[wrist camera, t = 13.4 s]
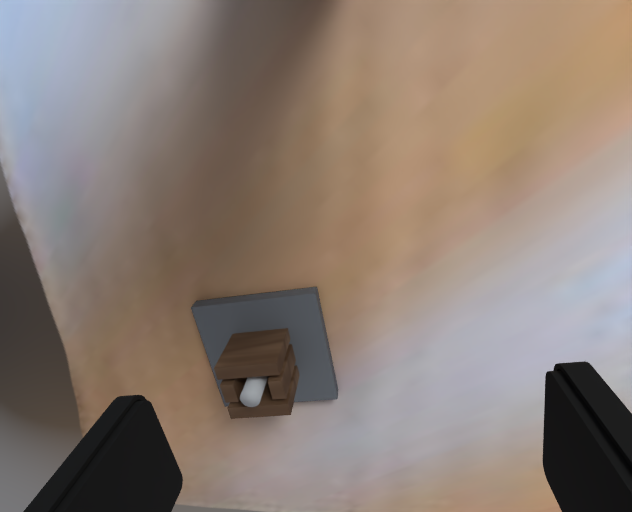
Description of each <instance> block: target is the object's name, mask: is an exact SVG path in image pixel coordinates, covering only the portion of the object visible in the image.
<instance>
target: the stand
mask: <svg viewBox="0 0 632 512" xmlns="http://www.w3.org/2000/svg"><path fill="white" fill-rule="evenodd" d="M191 309H192V312H193V315H194V318H195V321H196V324H197V327H198V330H199V333H200V336H201V338H202V341H203V344H204V347H205V350H206V353H207V356H208V359H209V362H210V365H211V368H212V370H213V373H214V376H215V379H216V382H217V385H218V388H219V391H220V394H221V397H222V400H223V402H224V405H225V407H226V406H229V403H226V402H225V400H224V397H223V394H222V391H221V388H220V384H221V382H222V380H218V379H217V376H216V374H215V371H214V367H215V365H216V363H217V361H218V360H219V358H220V356H221V354H222V352H223V350H224V349H225V347H226V345H227V343H228V341H229V339H230V338H231V336H232V334H235V333H244V332H254V331H264V330H273V329H283V328H288V331H289V335H290V342H289V344H292V347H293V351H294V355H295V359H296V362H295V366H296V365H297V367H298V371H299V375H300V376H299V381H298V385H297V389H296V394H295V398H294V402H302V401H317V400H332V399H338V386H337V381H336V377H335V372H334V367H333V362H332V357H331V352H330V348H329V343H328V338H327V333H326V328H325V323H324V318H323V314H322V309H321V304H320V299H319V294H318V289H317V287H310V288H302V289H293V290H285V291H276V292H268V293H259V294H251V295H242V296H234V297H225V298H217V299H208V300H200V301H196V302H195V303H194V304H193V306H192V307H191ZM267 379H268V376H259V377H248V378H247V380H246V383H245V385H244V388H243V390H242V392H241V395H240V400H241V402H242V403H243V404H244V405H245V406H248V407H255V406H257V405H258V404H259V403H260V400H261V397H262V394H263V391H264V388H265V385H266V382H267Z"/></svg>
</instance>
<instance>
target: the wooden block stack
mask: <svg viewBox="0 0 632 512" xmlns="http://www.w3.org/2000/svg"><path fill="white" fill-rule="evenodd" d="M289 342H290V335H289V331H288V328H283V329H273V330H264V331H254V332H244V333H235V334H232V336H231V338H230V339H229V341H228V343H227V345H226V347H225V349H224V350H223V352H222V354H221V356H220V358H219V360H218V361H217V363H216V365H215V367H214V371H215V374H216V376H217V379H218V380H222V382H221V384H220V388H221V391H222V394H223V397H224V400H225V402H226V403H229V406H228V411H229V414H230V417H231V419H233V418H249V417H264V416H280V415H291V412H292V407H293V403H294V398H295V394H296V389H297V385H298V381H299V376H300V375H299V371H298V367H297V365H296V366H295V362H296V359H295V355H294V351H293V347H292V344H289ZM259 376H268V379H267V382H266V385H265V388H264V391H263V394H262V397H261V400H260V403H259V404H258V405H257V406H255V407H248V406H245V405H244V404H243V403H242V402H241V400H240V395H241V392H242V390H243V388H244V385H245V383H246V380H247V378H248V377H259Z"/></svg>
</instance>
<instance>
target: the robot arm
mask: <svg viewBox="0 0 632 512" xmlns="http://www.w3.org/2000/svg"><path fill="white" fill-rule="evenodd" d="M543 467H544V472H545V475H546V478H547V481H548V483H549V485H550V487H551V489H552V491H553V494H554V496H555V498H556V500H557V502H558V504H559V506H560V508H561V510H562V512H632V414H631V412H630V411H629V410H628V409H627V408H626V406H625V405H624V404H623V403H622V402H621V400H620V399H619V398H618V397H617V396H616V394H615V393H614V392H613V391H612V390H611V388H610V387H609V386H608V385H607V384H606V382H605V381H604V380H603V379H602V378H601V376H600V375H599V374H598V373H597V372H596V370H595V369H594V368H593V367H592V366H591V365H590V364H589V363H588V362H573V363H559V364H556V365H555V366H554V371H548V372H547V373H546V381H545V411H544V440H543ZM182 481H183V479H182V474H181V471H180V469H179V467H178V464H177V462H176V460H175V457H174V455H173V453H172V450H171V448H170V446H169V443H168V441H167V439H166V436H165V434H164V432H163V429H162V427H161V425H160V422H159V420H158V418H157V415H156V413H155V411H154V408H153V406H152V404H151V402H150V401H147V400H146V399H145V397H144V396H142V395H132V396H120V397H117V398H116V399H115V400H114V401H113V402H112V403H111V404H110V405H109V407H108V408H107V409H106V410H105V412H104V413H103V414H102V415H101V417H100V418H99V419H98V420H97V422H96V423H95V424H94V425H93V426H92V428H91V429H90V430H89V431H88V433H87V434H86V435H85V436H84V438H83V439H82V440H81V441H80V443H79V444H78V445H77V446H76V448H75V449H74V450H73V451H72V452H71V454H70V455H69V456H68V457H67V459H66V460H65V461H64V462H63V464H62V465H61V466H60V467H59V468H58V470H57V471H56V472H55V473H54V475H53V476H52V477H51V478H50V480H49V481H48V482H47V483H46V485H45V486H44V487H43V488H42V489H41V491H40V492H39V493H38V494H37V496H36V497H35V498H34V499H33V501H32V502H31V503H30V504H29V506H28V507H27V508H26V509H25V510H24V512H171V511H172V509H173V506H174V504H175V502H176V500H177V498H178V496H179V493H180V491H181V488H182Z"/></svg>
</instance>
